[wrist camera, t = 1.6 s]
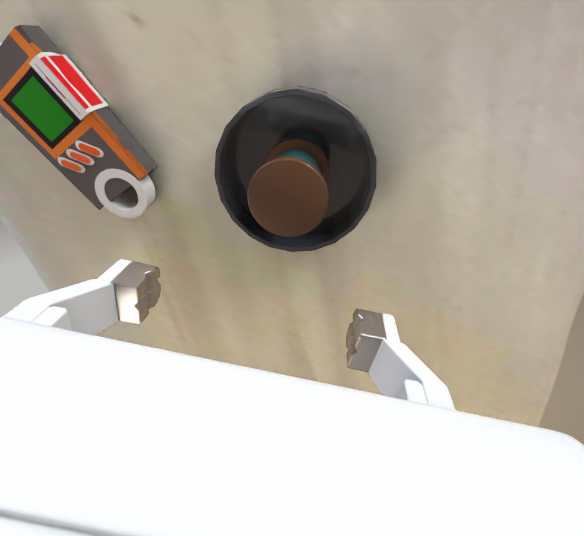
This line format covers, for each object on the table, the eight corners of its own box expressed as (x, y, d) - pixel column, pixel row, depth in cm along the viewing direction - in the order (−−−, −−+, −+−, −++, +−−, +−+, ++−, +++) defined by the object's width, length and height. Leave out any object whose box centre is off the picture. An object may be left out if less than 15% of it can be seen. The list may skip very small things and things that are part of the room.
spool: (270, 130, 27) (252, 150, 21) (336, 145, 27) (337, 169, 21) (261, 195, 30) (243, 228, 24) (321, 208, 30) (317, 244, 24)
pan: (232, 70, 25) (220, 71, 22) (394, 106, 25) (401, 111, 22) (221, 219, 32) (211, 234, 29) (348, 247, 32) (349, 264, 29)
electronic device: (117, 231, 31) (-39, 79, 24) (132, 217, 34) (-6, 75, 27) (166, 197, 29) (8, 17, 22) (178, 185, 31) (39, 19, 24)
